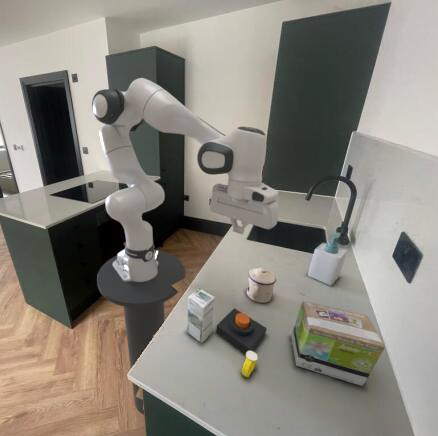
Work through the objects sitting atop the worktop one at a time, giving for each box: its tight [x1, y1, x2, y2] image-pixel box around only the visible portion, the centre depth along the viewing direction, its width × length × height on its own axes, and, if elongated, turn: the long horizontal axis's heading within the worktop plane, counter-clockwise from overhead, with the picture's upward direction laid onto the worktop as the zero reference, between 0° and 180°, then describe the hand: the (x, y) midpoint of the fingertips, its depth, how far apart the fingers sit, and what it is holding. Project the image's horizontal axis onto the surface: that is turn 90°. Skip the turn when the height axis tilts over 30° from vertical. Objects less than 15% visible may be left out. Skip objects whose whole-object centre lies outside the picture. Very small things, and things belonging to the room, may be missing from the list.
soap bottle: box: [307, 232, 348, 287], centre depth 92 cm, size 9×9×19 cm
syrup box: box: [186, 287, 216, 344], centre depth 69 cm, size 6×6×14 cm
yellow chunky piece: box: [241, 350, 259, 378], centre depth 59 cm, size 6×3×6 cm, turn 135°
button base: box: [215, 308, 267, 356], centre depth 70 cm, size 11×10×5 cm
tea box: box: [290, 300, 386, 387], centre depth 60 cm, size 15×10×15 cm
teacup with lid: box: [246, 267, 277, 304], centre depth 83 cm, size 12×9×12 cm
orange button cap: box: [235, 312, 251, 329], centre depth 69 cm, size 4×4×2 cm
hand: (238, 232), depth 70 cm, fingers closed
